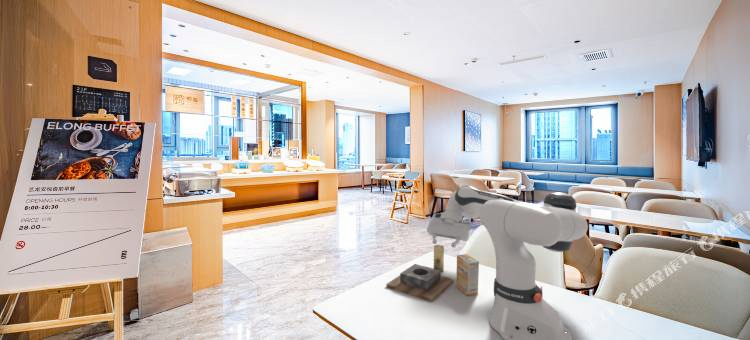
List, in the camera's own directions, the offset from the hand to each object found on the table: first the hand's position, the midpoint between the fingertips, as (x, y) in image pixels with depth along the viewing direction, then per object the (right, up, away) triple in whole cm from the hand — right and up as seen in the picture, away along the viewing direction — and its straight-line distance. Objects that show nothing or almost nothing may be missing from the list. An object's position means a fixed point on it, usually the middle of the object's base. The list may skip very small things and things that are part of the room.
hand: (443, 245), depth 142 cm
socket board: (-13, -12, -18) cm, 25 cm away
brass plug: (-3, -10, -4) cm, 12 cm away
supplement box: (+4, -12, -23) cm, 26 cm away
